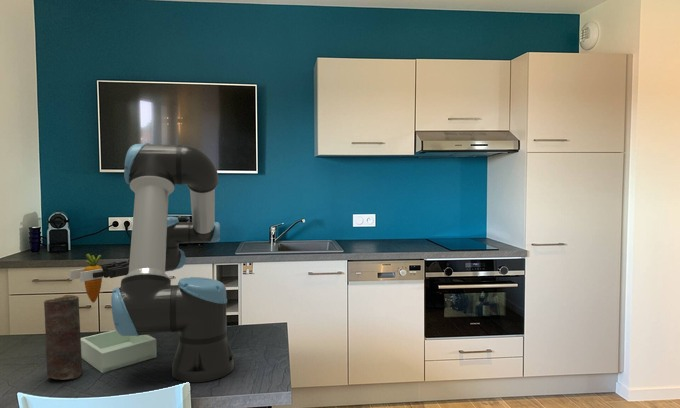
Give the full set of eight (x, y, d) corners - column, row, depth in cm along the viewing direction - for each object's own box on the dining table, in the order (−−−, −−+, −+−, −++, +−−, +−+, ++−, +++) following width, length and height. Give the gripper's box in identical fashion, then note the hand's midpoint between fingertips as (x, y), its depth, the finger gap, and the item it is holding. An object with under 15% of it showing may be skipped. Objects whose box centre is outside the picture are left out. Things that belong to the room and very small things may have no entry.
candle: (46, 386, 103) (44, 302, 103) (45, 375, 109) (43, 295, 109) (84, 378, 108) (82, 297, 107) (80, 368, 114) (79, 291, 113)
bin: (156, 356, 121) (156, 339, 121) (102, 373, 111) (102, 353, 111) (130, 342, 132) (130, 326, 132) (79, 356, 121) (79, 338, 121)
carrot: (106, 300, 137) (105, 252, 137) (95, 304, 133) (95, 255, 132) (91, 300, 138) (90, 252, 138) (80, 304, 133) (79, 254, 133)
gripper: (161, 278, 147) (93, 292, 126) (127, 273, 155) (58, 285, 135) (161, 255, 146) (93, 266, 126) (127, 251, 155) (58, 261, 134)
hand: (75, 276), depth 130 cm, fingers closed on carrot, 5 cm apart
